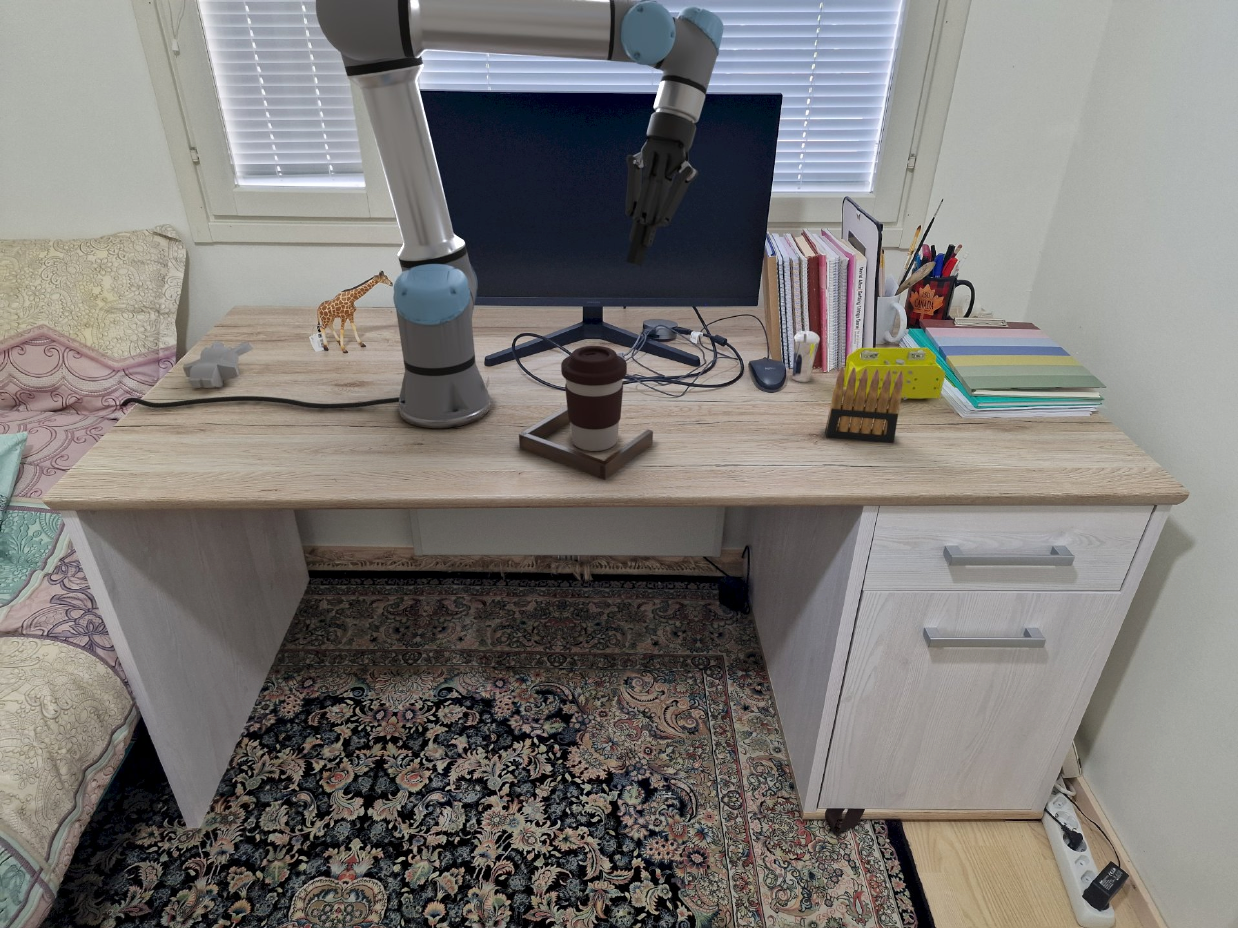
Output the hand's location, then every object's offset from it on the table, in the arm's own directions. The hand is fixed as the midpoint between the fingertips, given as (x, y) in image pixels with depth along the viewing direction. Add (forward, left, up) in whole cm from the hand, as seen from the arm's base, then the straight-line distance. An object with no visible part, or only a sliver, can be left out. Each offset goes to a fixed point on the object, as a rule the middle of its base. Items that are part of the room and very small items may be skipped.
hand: (634, 264), depth 127 cm
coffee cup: (+1, -21, -23) cm, 31 cm away
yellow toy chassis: (+44, +13, -23) cm, 52 cm away
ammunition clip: (+40, -5, -23) cm, 47 cm away
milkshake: (+28, +15, -23) cm, 40 cm away
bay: (0, -23, -23) cm, 32 cm away
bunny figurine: (-74, -21, -23) cm, 80 cm away
